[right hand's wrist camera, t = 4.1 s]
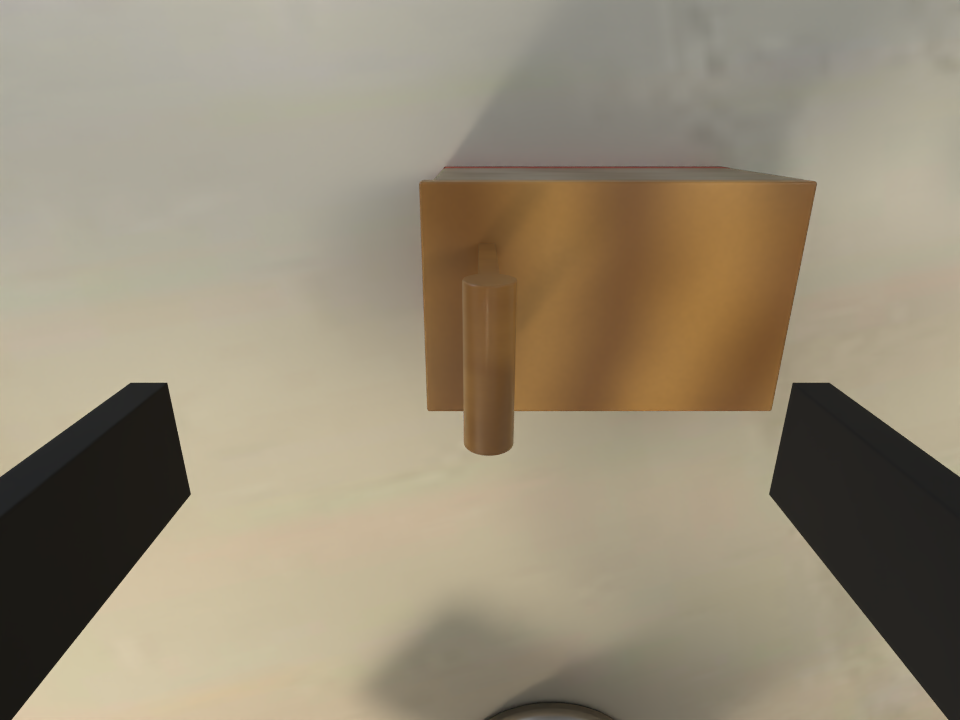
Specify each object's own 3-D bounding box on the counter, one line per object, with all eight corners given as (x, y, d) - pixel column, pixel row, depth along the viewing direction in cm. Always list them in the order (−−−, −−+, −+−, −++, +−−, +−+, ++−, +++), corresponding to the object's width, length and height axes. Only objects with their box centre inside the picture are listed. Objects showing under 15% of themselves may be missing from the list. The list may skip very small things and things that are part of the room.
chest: (448, 339, 36) (439, 402, 27) (444, 166, 32) (432, 179, 24) (696, 339, 36) (762, 402, 27) (721, 166, 32) (805, 179, 24)
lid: (428, 402, 27) (408, 514, 19) (420, 179, 24) (391, 204, 16) (762, 402, 27) (879, 514, 19) (806, 179, 24) (971, 204, 16)
